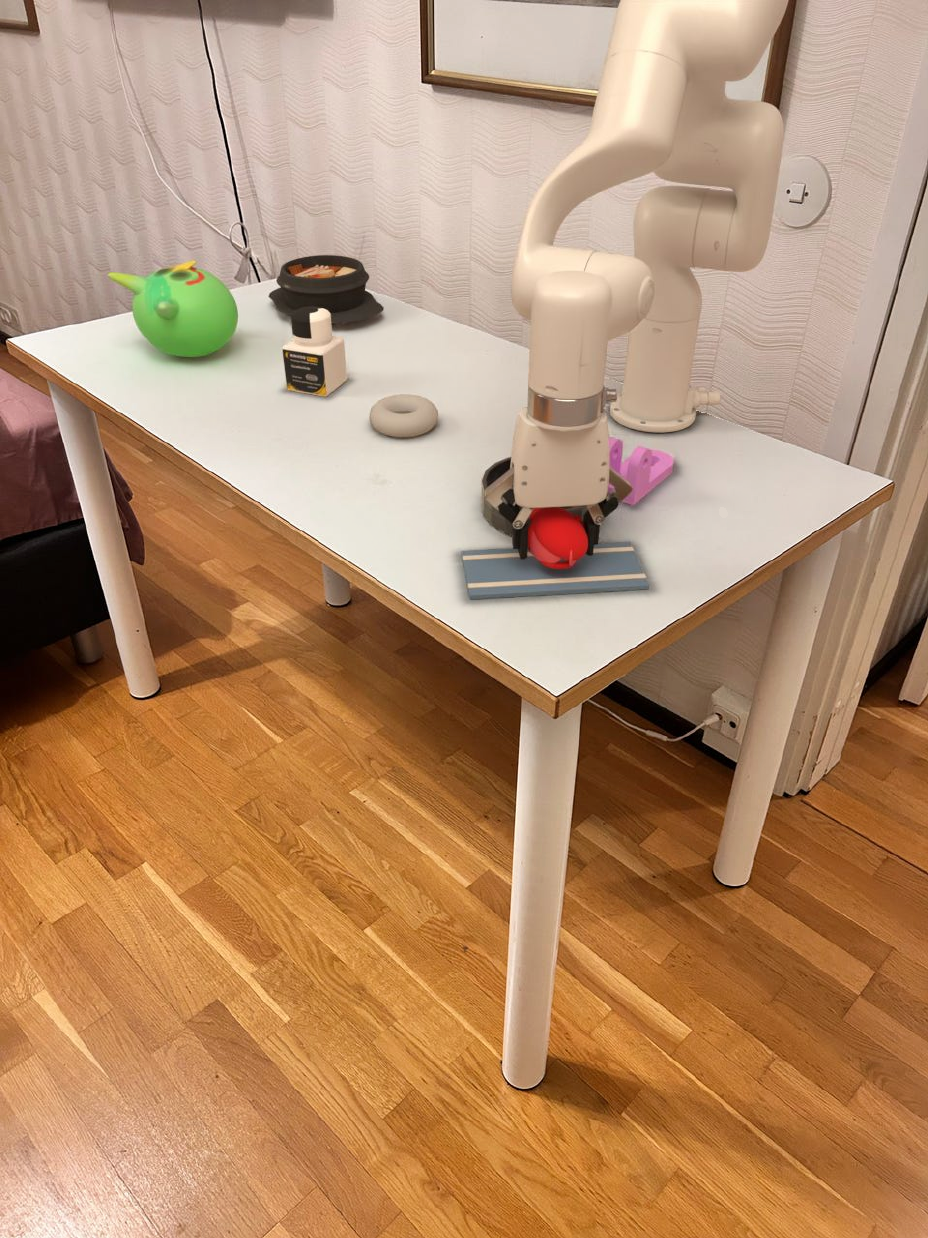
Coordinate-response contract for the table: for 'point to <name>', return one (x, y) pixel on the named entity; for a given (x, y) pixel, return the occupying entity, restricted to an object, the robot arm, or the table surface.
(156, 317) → the toy bird
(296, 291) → the casserole
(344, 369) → the medicine bottle
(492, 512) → the bowl
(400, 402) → the donut
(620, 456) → the bracket
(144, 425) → the table surface
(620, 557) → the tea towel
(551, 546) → the red rounded lobed piece
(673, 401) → the robot arm
